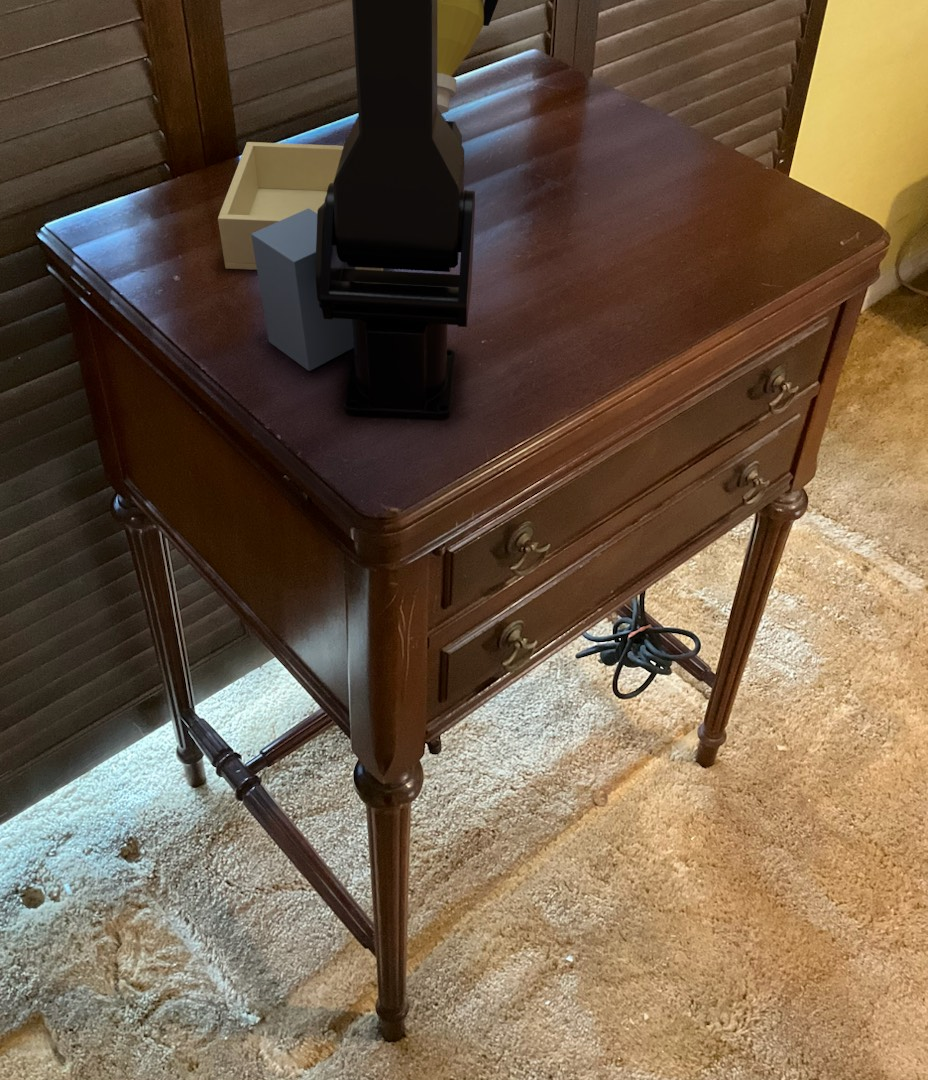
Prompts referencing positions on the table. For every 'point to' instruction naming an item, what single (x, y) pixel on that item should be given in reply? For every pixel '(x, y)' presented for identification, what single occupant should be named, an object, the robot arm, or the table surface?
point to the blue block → (297, 293)
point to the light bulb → (454, 42)
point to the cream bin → (273, 193)
